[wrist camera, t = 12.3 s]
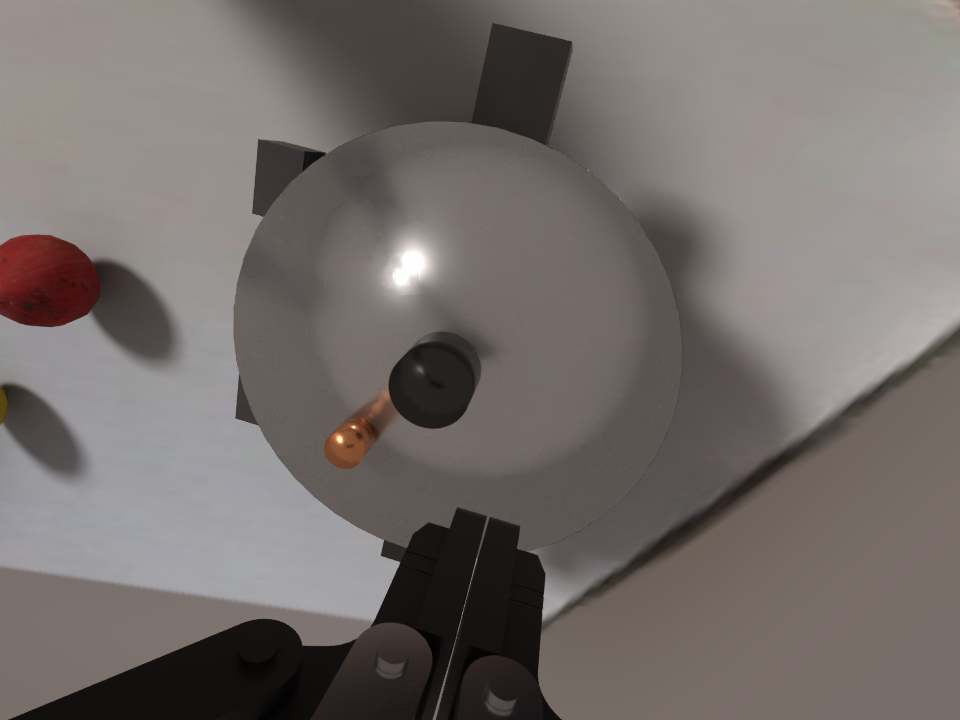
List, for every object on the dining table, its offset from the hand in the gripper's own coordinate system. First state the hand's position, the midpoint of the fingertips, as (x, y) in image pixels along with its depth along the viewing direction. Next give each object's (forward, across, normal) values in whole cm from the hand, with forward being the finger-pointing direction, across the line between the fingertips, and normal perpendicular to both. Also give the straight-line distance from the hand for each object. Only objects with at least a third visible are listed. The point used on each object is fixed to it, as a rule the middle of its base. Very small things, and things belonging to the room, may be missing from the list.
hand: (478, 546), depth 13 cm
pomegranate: (+24, +31, +6) cm, 40 cm away
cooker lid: (+11, +3, 0) cm, 12 cm away
